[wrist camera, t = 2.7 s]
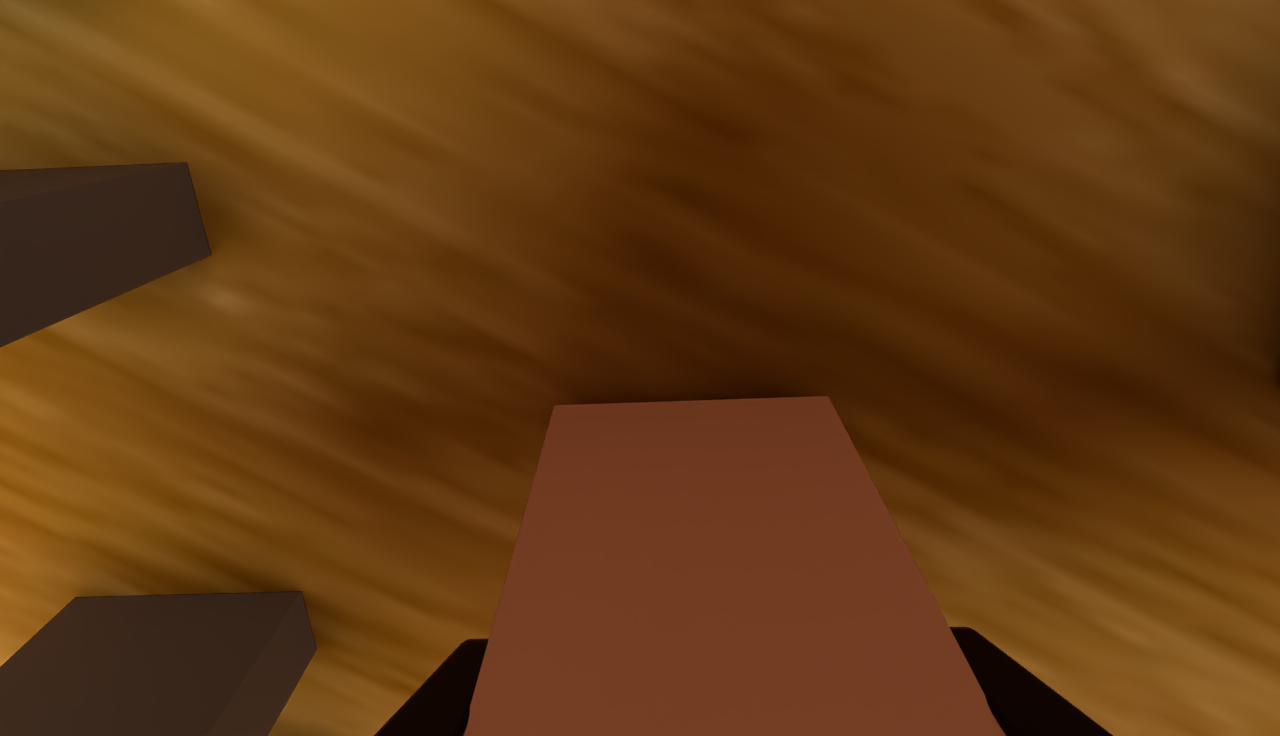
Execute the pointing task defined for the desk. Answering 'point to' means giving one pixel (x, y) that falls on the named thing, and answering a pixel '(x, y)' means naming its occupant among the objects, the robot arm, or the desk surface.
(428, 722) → the robot arm
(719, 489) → the domino
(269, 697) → the domino
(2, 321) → the domino
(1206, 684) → the desk surface
